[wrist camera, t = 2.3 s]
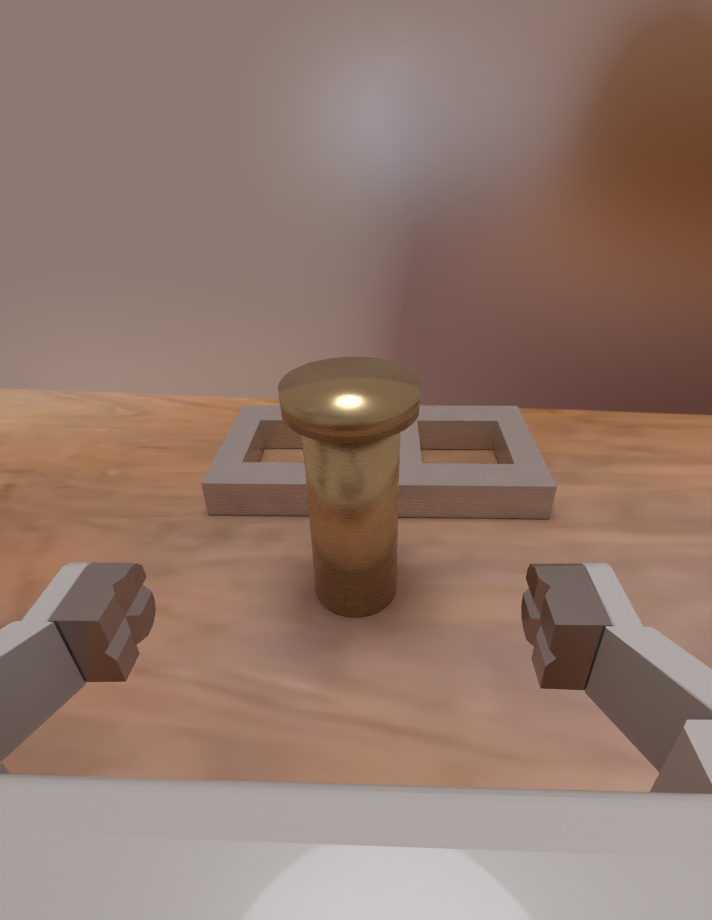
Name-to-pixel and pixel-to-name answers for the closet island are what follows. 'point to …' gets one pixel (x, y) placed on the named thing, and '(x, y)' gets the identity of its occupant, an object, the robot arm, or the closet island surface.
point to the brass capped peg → (352, 472)
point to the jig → (420, 484)
